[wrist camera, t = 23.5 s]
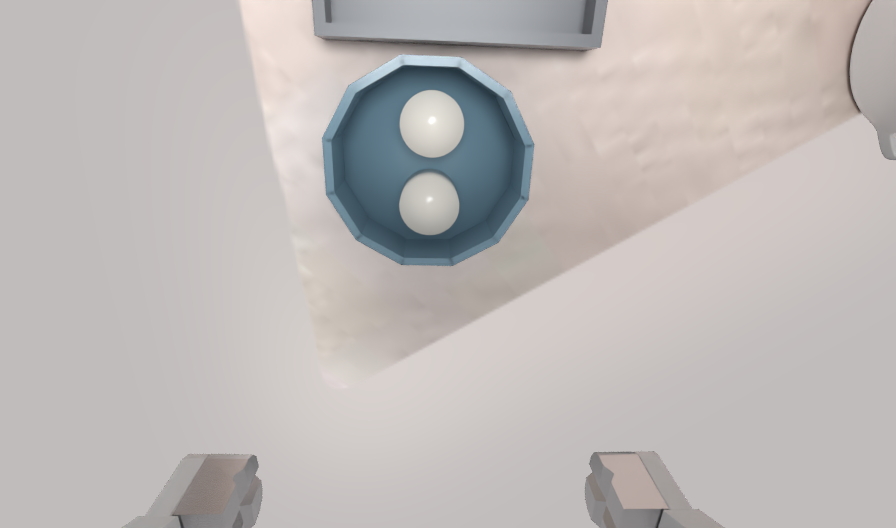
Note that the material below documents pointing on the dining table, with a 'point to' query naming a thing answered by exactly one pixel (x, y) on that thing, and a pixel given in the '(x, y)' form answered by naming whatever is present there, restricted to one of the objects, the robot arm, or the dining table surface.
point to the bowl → (427, 159)
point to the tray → (465, 22)
